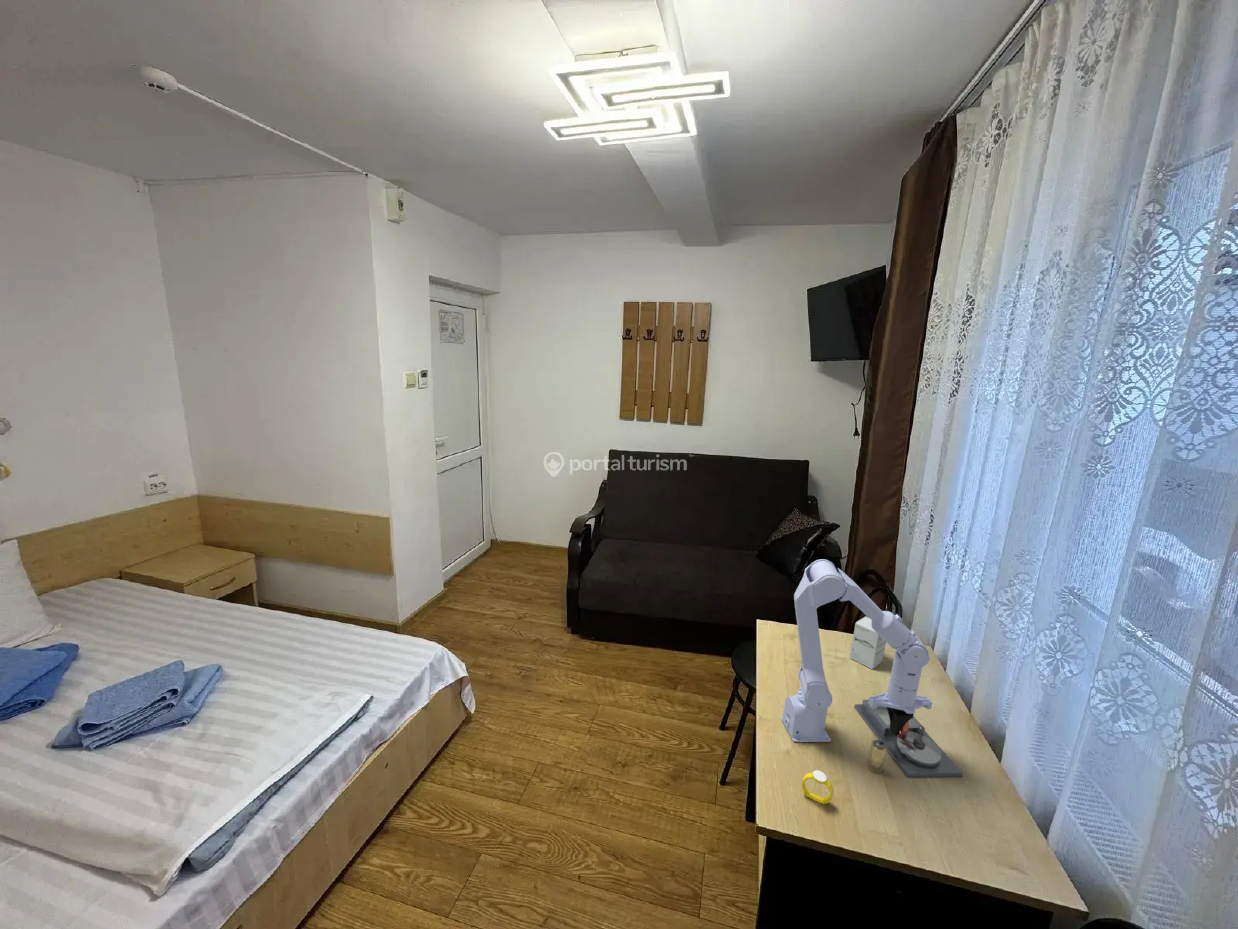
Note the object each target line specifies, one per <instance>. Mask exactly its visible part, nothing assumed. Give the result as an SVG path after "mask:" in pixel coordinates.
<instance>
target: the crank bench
mask: <svg viewBox="0 0 1238 929" xmlns="http://www.w3.org/2000/svg"><path fill="white" fill-rule="evenodd" d="M868 700H869V699H862V702H861V703H860V704H857V703H856V704H854V709H855V710H856V712H857V713H858V715H859V716H860V718H862V720H863V721H864V722H865V724H866V725H867V726H868V728H869V729H870V731H871V732H872V734H874V735H875V737H876V738H877V740H879V741H882V742H883V743H884V744H885V746H886V753H888V754H889V755H890V757H891V758H892V759H893V761H894V762H895V764H896V765H897V766H898V768H899V769H900V770H901V771H902V773H903V774H904V776H905V777H906V778H933V777H934V778H939V777H940V778H942V777H943V778H944V777H945V778H946V777H947V778H949V777H951V778H952V777H953V778H954V777H955V778H956V777H958V778H959V777H963V771H962V770H961V769H959V767H958V766H957V765H956V763H954V761H953V760H952V759H951V758H950V757H949V755H947V754H946V753H945V751H944V750H943V749H942V748H941V747H940V746H939V745H938V743H937V742H936V741H935V740H934V739H933V738H932V737H931V735H929V734H928V732H926V730H925V729H926V728H925V726H924V725H922V723H920V722H919V720H918V719H917V718H916V717H915V715H913V718H912V719H910V720H909V721H908V722H909V728H908V731H911V732H916V733H919V734H921V735H923V736H925V737H927V738H929V739H930V740H931V741H933V742H934V743H935V744H936V745H937V746H938V747H939V749H940V751H941V760H940V763H939V764H938V765H937V766H933V767H928V766H923V765H920V764H917V763H915V762H913V761H911V760H909V759H908V758H906V757H905V756H904V755H903V754H902V753H901V752H900V751H899V750H898V748H897V746H896V740H897V735H894V734H893V732H892V731H891V730H890V718H889V714H888V711H887V708H886V707H877V709H872V708H871V707H870V705H869V704H868Z"/></svg>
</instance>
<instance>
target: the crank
mask: <svg viewBox="0 0 1238 929" xmlns="http://www.w3.org/2000/svg"><path fill="white" fill-rule="evenodd" d="M908 728H909V722H907V723H906V724H905V725H904V726H903V727H902V729H901V730H900V733H899V735H897V740H896V746H897V748H898V750H899V751H900V752H901V753H902V754H903V755H904V756H905V757H906V758H908V759H909V760H911V761H913V762H915V763H917V764H920V765H923V766H928V767H933V766H937V765H938V764H939V763H940V760H941V751H940V749H939V747H940V746H939V745H938V744H937V743H936V742H935V741H934V742H935V743H936V744H937V745H938V746H939V747H938V746H937V745H936V744H935V743H934V742H933V741H931V740H930V739H929V738H927V737H925V736H923V735H921V734H919V733H916V732H911V731H908Z"/></svg>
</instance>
